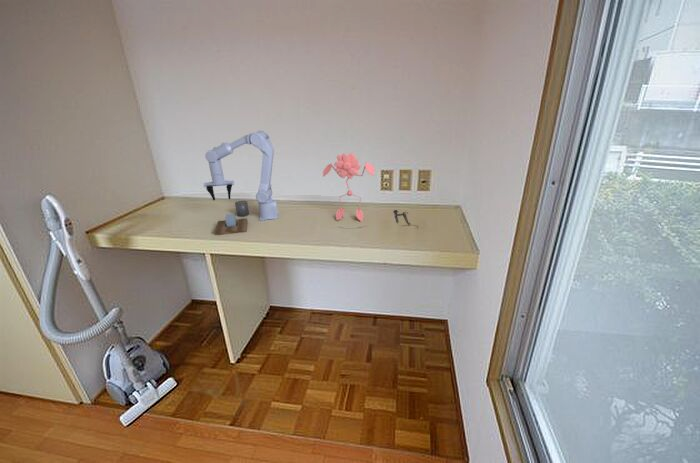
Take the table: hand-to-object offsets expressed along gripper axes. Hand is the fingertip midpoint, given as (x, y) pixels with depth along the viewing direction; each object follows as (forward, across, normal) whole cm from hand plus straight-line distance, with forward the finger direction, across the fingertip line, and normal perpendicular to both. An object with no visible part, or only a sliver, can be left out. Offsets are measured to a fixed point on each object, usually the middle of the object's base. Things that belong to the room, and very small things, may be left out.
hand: (222, 199), depth 169 cm
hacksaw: (+11, +91, -30) cm, 97 cm away
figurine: (+11, +62, -26) cm, 68 cm away
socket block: (+10, +5, -17) cm, 21 cm away
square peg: (+10, +5, -17) cm, 21 cm away
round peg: (+10, +9, +2) cm, 14 cm away
